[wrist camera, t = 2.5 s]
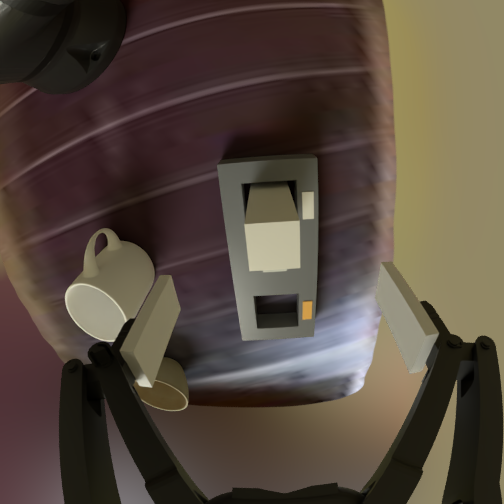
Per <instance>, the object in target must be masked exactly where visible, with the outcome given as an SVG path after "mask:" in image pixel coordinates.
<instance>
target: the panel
mask: <svg viewBox="0 0 504 504" xmlns="http://www.w3.org/2000/svg"><path fill="white" fill-rule="evenodd" d="M217 168H218V176H219V184H220V191H221V199H222V206H223V214H224V221H225V228H226V235H227V242H228V249H229V256H230V263H231V270H232V276H233V283H234V290H235V296H236V302H237V309H238V315H239V321H240V328H241V334H242V340H268V339H286V338H300V337H313V336H314V327H315V311H316V292H317V266H318V164H317V157H316V156H314V155H313V154H292V155H273V156H259V157H247V158H236V159H226V160H221V161H220V162H219V163H218V164H217ZM287 180H294V195H295V208H296V211H297V214H298V217H299V220H300V268H295V269H287V271H279V272H263V271H249V262H248V253H247V244H246V235H245V226H244V223H245V217H246V200H245V190H244V183H256V182H270V181H287ZM283 294H297V312H292V313H277V314H258V315H257V305H256V296H266V295H283Z"/></svg>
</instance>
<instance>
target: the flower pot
mask: <svg viewBox="0 0 504 504" xmlns="http://www.w3.org/2000/svg"><path fill="white" fill-rule="evenodd" d="M134 387H135V389H136V391H137V392H138V394H139V396H140V398H141V400H142V401H144V402H145V403H147V404H149V405H151V406H153V407H155V408H158V409H162V410H167V411H179V410H182V409H185V408H186V407H187V405H188V385H187V380H186V377H185V374H184V371H183V369H182V367H181V365H180V364H179V363H178V362H177V361H175V360H173V359H171V358H167V357H163V359H162V361H161V364H160V367H159V370H158V373H157V376H156V379H155V382H154V385H153V388H151V387H143V386H139V384H138V382H137V381H136V380H135V383H134Z"/></svg>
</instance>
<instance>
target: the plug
mask: <svg viewBox="0 0 504 504" xmlns="http://www.w3.org/2000/svg"><path fill="white" fill-rule="evenodd" d="M244 226H245V235H246V244H247V253H248V262H249V271H263V272H279V271H287V269H295V268H300V220H299V217H298V214H297V211H296V208H295V205H294V201H293V198H292V195H291V192H290V189H289V186H288V183H287V181H277V182H262V183H251V186H250V192H249V198H248V204H247V210H246V217H245V223H244Z"/></svg>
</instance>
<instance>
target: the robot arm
mask: <svg viewBox="0 0 504 504" xmlns="http://www.w3.org/2000/svg"><path fill="white" fill-rule="evenodd" d="M125 27H126V13H125V9H124V6H123V4H122V2H121V1H120V0H0V84H6V83H15V82H23V83H25V84H27V85H29V86H31V87H34V88H36V89H38V90H40V91H42V92H44V93H48V94H68V93H73V92H76V91H78V90H80V89H82V88H84V87H86V86H87V85H89V84H90V83H92V82H93V81H94V80H95V79H96V78H98V77H99V76H100V75H101V74H102V72H103V71H104V70H105V69H106V68H107V67H108V65H109V64H110V63H111V61H112V60H113V58H114V56H115V55H116V53H117V51H118V49H119V47H120V44H121V42H122V39H123V36H124V32H125ZM375 299H376V301H377V303H378V305H379V307H380V309H381V311H382V313H383V315H384V317H385V319H386V322H387V324H388V326H389V328H390V330H391V332H392V334H393V336H394V339H395V341H396V343H397V346H398V348H399V350H400V352H401V355H402V357H403V359H404V362H405V364H406V366H407V369H408V371H409V373H410V374H411V373H415V372H420V371H422V370H423V368H424V365H425V364H426V365H427V367H428V371H427V372H426V374H425V376H424V378H423V380H422V384H421V387H420V389H419V392H418V394H417V396H416V398H415V401H414V403H413V405H412V407H411V409H410V411H409V413H408V415H407V417H406V419H405V421H404V423H403V425H402V427H401V429H400V431H399V433H398V435H397V437H396V439H395V440H394V442H393V444H392V445H391V448H390V449H389V451H388V453H387V454H386V456H385V458H384V459H383V461H382V462H381V464H380V466H379V467H378V469H377V470H376V472H375V473H374V475H373V476H372V477H371V479H370V480H369V481H368V482H367V484H366V485H365V486H364V488H363V489H362V490H361V492H360V493H359V492H357V491H355V490H352V489H349V488H344V487H338V485H337V483H331V484H324V485H315V486H310V487H307V488H303V489H300V490H297V491H293V492H290V493H279V492H273V491H268V490H263V489H258V488H233V490H232V492H229V493H225V494H221V495H219V496H216V497H214V498H212V499H211V500H208V498H207V497H206V496H205V495H204V494H203V492H202V491H201V490H200V489H199V488H198V487H197V486H196V485H195V483H194V482H193V481H192V479H191V478H190V477H189V475H188V474H187V472H186V471H185V470H184V468H183V467H182V465H181V464H180V463H179V461H178V460H177V458H176V457H175V455H174V454H173V452H172V451H171V449H170V448H169V446H168V445H167V443H166V441H165V440H164V438H163V437H162V435H161V433H160V432H159V430H158V428H157V427H156V425H155V423H154V422H153V420H152V418H151V416H150V415H149V413H148V411H147V409H146V407H145V406H144V404H143V402H142V400H141V398H140V396H139V394H138V392H137V391H136V389H135V387H134V383H135V380H136V381H137V382H138V384H139V386H143V387H151V388H153V385H154V382H155V379H156V376H157V373H158V370H159V367H160V364H161V361H162V359H163V356H164V353H165V350H166V347H167V345H168V342H169V339H170V336H171V334H172V331H173V328H174V326H175V323H176V320H177V318H178V315H179V312H180V310H181V309H180V306H179V302H178V299H177V295H176V292H175V288H174V285H173V281H172V277H171V275H160V276H159V278H158V280H157V282H156V283H155V285H154V287H153V289H152V290H151V292H150V294H149V296H148V298H147V299H146V301H145V303H144V305H143V307H142V309H141V310H140V312H139V314H138V316H137V318H130V319H129V320H128V321H127V322H125V323H124V325H123V326H122V328H121V330H120V332H119V334H118V337H116V339H115V341H114V343H113V345H112V347H111V346H110V345H109V343H106V342H99V343H96V344H94V345H93V346H92V347H91V348H90V349H89V351H88V357H89V359H90V360H91V362H92V364H86V365H83V363H82V362H81V361H80V360H79V359H72V360H69V361H68V362H67V363H65V365H64V366H63V369H62V378H61V391H60V410H59V448H60V466H61V478H62V487H63V495H64V502H65V504H121V501H120V497H119V493H118V489H117V484H116V479H115V475H114V470H113V464H112V459H111V453H110V447H109V440H108V433H107V424H106V415H105V404H104V399H106V400H107V402H108V405H109V408H110V410H111V413H112V415H113V417H114V420H115V422H116V424H117V427H118V429H119V431H120V433H121V435H122V437H123V439H124V442H125V444H126V446H127V448H128V450H129V452H130V454H131V456H132V458H133V460H134V462H135V464H136V465H137V467H138V469H139V471H140V472H141V475H142V476H143V478H144V479H145V482H146V483H145V487H146V490H147V491H148V493H149V495H150V496H151V498H152V500H153V501H154V503H155V504H406V503H407V502H408V500H409V498H410V496H411V495H412V493H413V491H414V489H415V488H416V486H417V484H418V482H419V480H420V478H421V476H422V473H423V471H422V467H423V465H424V463H425V461H426V459H427V457H428V454H429V452H430V450H431V448H432V446H433V443H434V441H435V439H436V436H437V434H438V431H439V429H440V426H441V424H442V421H443V418H444V416H445V413H446V410H447V407H448V404H449V401H450V398H451V395H452V392H453V388H454V385H455V381H456V380H457V406H456V420H455V431H454V440H453V447H452V454H451V460H450V466H449V471H448V476H447V481H446V485H445V490H444V495H443V499H442V504H502V498H501V490H500V484H499V481H500V473H501V464H502V448H503V406H502V392H501V381H500V372H499V365H498V358H497V352H496V346H495V343H494V342H493V340H492V339H491V338H489V337H487V336H480V337H478V338H477V339H476V341H475V343H465V342H463V341H462V339H461V338H460V337H458V336H456V335H453V334H450V332H449V331H448V329H447V328H446V326H445V324H444V323H443V321H442V320H441V318H439V315H438V314H437V313H436V311H435V309H434V308H433V306H432V305H431V304H429V303H428V302H427V301H421V302H419V300H418V299H417V297H416V296H415V294H414V293H413V291H412V290H411V288H410V287H409V285H408V284H407V282H406V281H405V279H404V278H403V277H402V275H401V274H400V272H399V271H398V270H397V268H396V267H395V265H394V264H393V263H392V262H381V266H380V273H379V279H378V285H377V291H376V296H375Z"/></svg>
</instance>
